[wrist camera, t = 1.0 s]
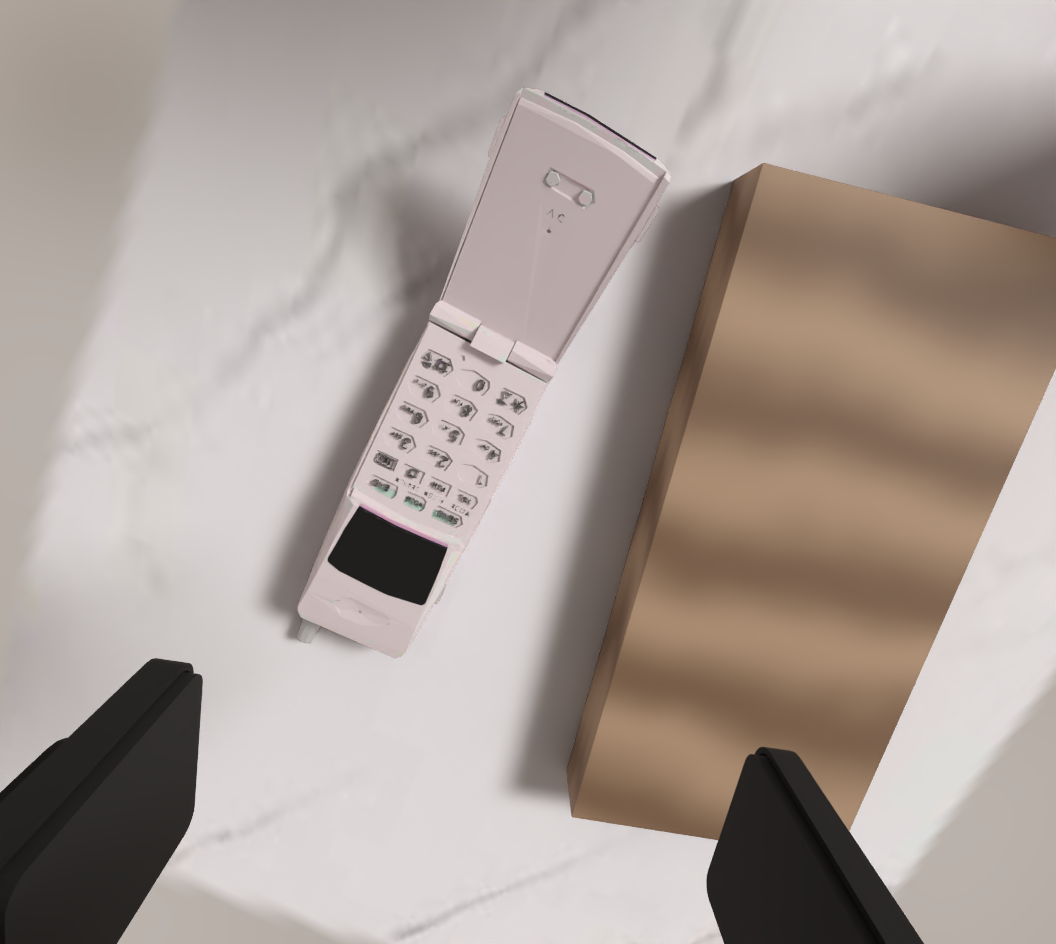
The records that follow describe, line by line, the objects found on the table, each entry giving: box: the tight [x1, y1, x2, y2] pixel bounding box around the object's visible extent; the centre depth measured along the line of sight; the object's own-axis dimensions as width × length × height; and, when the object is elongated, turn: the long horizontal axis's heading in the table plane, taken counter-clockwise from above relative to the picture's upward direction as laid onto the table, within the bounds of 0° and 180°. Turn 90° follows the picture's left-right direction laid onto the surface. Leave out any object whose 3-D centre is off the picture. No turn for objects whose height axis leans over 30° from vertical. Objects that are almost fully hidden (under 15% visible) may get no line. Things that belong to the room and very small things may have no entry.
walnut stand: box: [566, 163, 1056, 840], centre depth 27 cm, size 30×14×3 cm, turn 168°
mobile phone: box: [297, 87, 671, 658], centre depth 24 cm, size 6×6×25 cm
